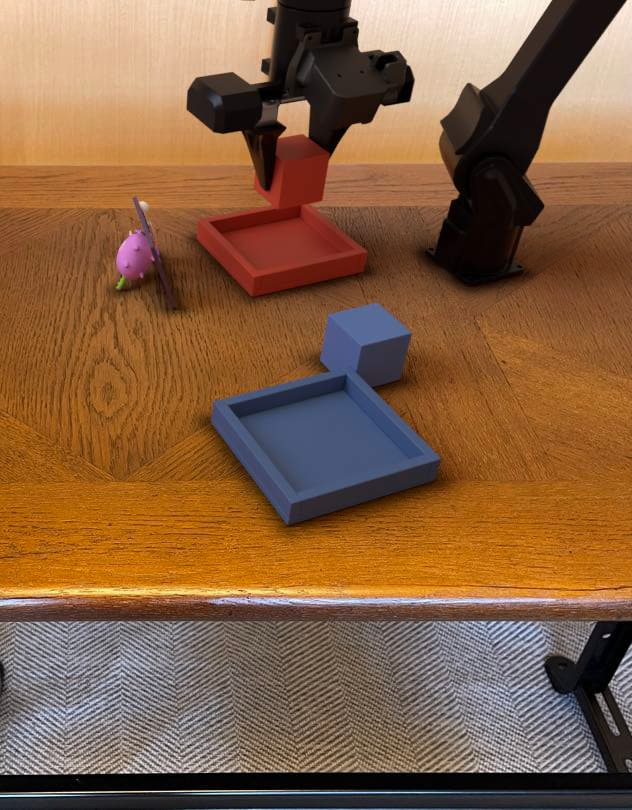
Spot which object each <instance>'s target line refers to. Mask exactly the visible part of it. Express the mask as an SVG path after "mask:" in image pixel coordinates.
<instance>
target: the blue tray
mask: <svg viewBox="0 0 632 810" xmlns="http://www.w3.org/2000/svg"><path fill="white" fill-rule="evenodd" d="M210 423H211V425H212V426H213V427H214V429H215V430H216V431H217V433H218V435H219V436H221V438H222V440H223V441H224V442H225V443H226V445H227V446H228V448H229V449H230V450H231V452H232V453H233V454H234V456H235V458H237V460H238V461H239V462H240V464H241V465H242V466H243V468H244V469H245V471H247V473H248V475H249V476H250V477H251V478H252V480H253V481H254V482H255V484H256V485H257V486H258V488H259V489H260V491H261V492H262V493H263V495H264V496H265V498H266V499H267V500H268V502H269V503H270V504H271V506H272V507H273V508H274V509H275V511H276V512H277V514H278V515H279V517H281V519H282V520H283V521H284V523H285V524H286V525H287V526H291V525H294V524H297V523H301V522H304V521H308V520H312V519H315V518H318V517H321V516H324V515H327V514H330V513H333V512H336V511H340V510H343V509H346V508H350V507H354V506H356V505H360V504H363V503H366V502H370V501H372V500H373V501H374V500H376V499H379V498H382V497H386V496H389V495H392V494H396V493H399V492H402V491H406V490H409V489H412V488H416V487H418V486H422V485H425V484H429V483H432V482H435V480H436V478H437V474H438V471H439V469H440V465H441V462H442V457H441V456H440V455H439V454H438V453H437V452H436V451H435V450H434V449H433V448H432V447H431V446H430V445H428V443H427V442H426V441H425V440H424V439H423V438H422V437H421V436H420V435H419V434H418V432H416V431H415V430H414V429H413V428H412V427H411V426H410V425H409V424H408V423H407V422H406V421H405V420H404V419H403V418H402V417H401V416H400V415H399V414H398V413H397V411H395V410H394V409H393V408H392V407H391V406H390V405H389V404H388V403H387V402H386V401H385V400H384V399H383V398H382V397H381V396H380V395H379V394H378V393H377V392H376V391H375V390H374V389H373V387H370V386H369V385H368V384H367V383H366V382H365V381H364V380H363V379H362V378H361V377H360V376H359V375H358V374H357V373H356V372H355V371H354V370H353V369H352V368H351V367H350V366H349V367H345V368H342V369H337V370H334V371H326V372H322V373H319V374H315V375H311V376H307V377H303V378H299V379H296V380H291V381H288V382H283V383H280V384H276V385H272V386H267V387H263V388H261V389H257V390H252V391H249V392H245V393H244V392H243V393H241V394H238V395H233V396H229V397H226V398H221V399H216V400H213V401H212V410H211V421H210Z"/></svg>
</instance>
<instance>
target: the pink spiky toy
mask: <svg viewBox="0 0 632 810" xmlns="http://www.w3.org/2000/svg"><path fill="white" fill-rule="evenodd" d="M132 202H133V204H134V207H135V210H136V213H137V215H138V219H139V221H140V224H141V227H142V228H141V229H138V228H137V229H134V232H136V233H133V232H132V231H131V230H129V233H128V237H127V238H126V239H125V240H124V241H123V242H122V244H121V245H120V246H119V249H118V251H117V255H116V263H115V264H116V269H117V271H118V272H119V274H120V275H121V278H120V279H119V282H117V286H116V287H115V289H116V290H117V291H121V290H122V288H123V287H124V286H125V284H126V283H127V282H128V280H132V281H133V280H137V279H139V278H141V279H144V273H146V271H147V270H148V269H149V267H150V265H152V263H153V262H154V263H155V265H156V268H157V271H158V274H159V276H160V279H161V282H162V284H163V287H164V290H165V292H166V295H167V298H168V301H169V303H170V306H171V309H172V310H174V309H177V305H176V303H175V300H174V297H173V296H174V295H173V294H172V291H171V287H170V286H169V283H168V280H167V276H166V275H165V272H164V269H163V266H162V264H163V262H162V260H161V258H160V257H159V255H160V249H159V246H158V244H157V242H158V239H157V236H156V233H155V230H154V228H153V224H152V222H151V220H150V219H149V220H147V217H148V216H147V215H148V213H149V212H150V206H149V204H148V203H147V202H146V201H143V200H141V201H139V200H138V197H137V196H134V197H132Z"/></svg>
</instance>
